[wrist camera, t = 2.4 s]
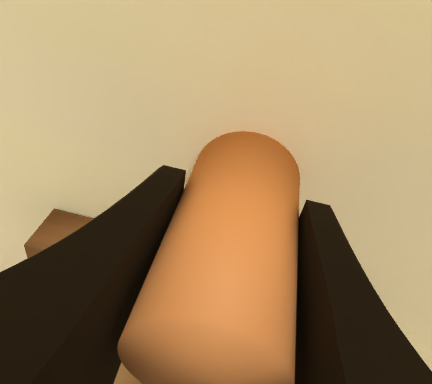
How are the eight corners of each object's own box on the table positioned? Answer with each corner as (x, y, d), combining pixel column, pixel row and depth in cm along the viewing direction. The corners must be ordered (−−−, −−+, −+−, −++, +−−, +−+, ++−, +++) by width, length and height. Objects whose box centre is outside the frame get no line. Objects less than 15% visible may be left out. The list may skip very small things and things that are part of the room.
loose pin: (314, 146, 10) (321, 353, 5) (283, 226, 12) (268, 427, 7) (202, 120, 10) (114, 298, 6) (190, 204, 12) (118, 385, 8)
